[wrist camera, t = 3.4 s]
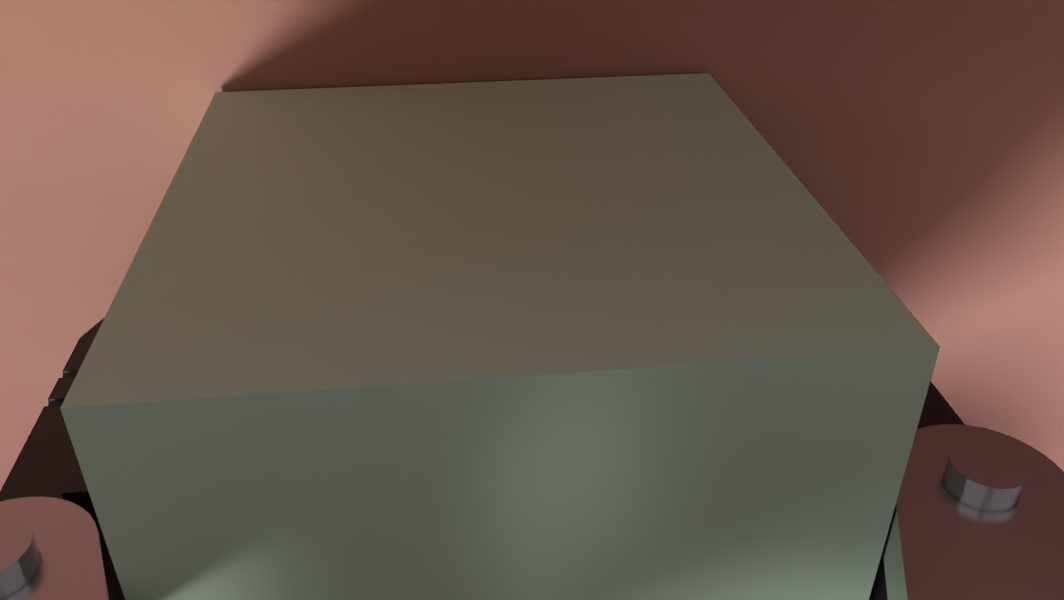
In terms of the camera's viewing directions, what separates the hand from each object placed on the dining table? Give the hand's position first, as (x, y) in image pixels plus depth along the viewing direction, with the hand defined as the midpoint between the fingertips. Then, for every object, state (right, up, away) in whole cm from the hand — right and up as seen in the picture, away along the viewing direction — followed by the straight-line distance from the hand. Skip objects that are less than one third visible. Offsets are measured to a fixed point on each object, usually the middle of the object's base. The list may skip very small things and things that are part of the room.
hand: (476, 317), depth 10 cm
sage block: (0, 0, 0) cm, 0 cm away
